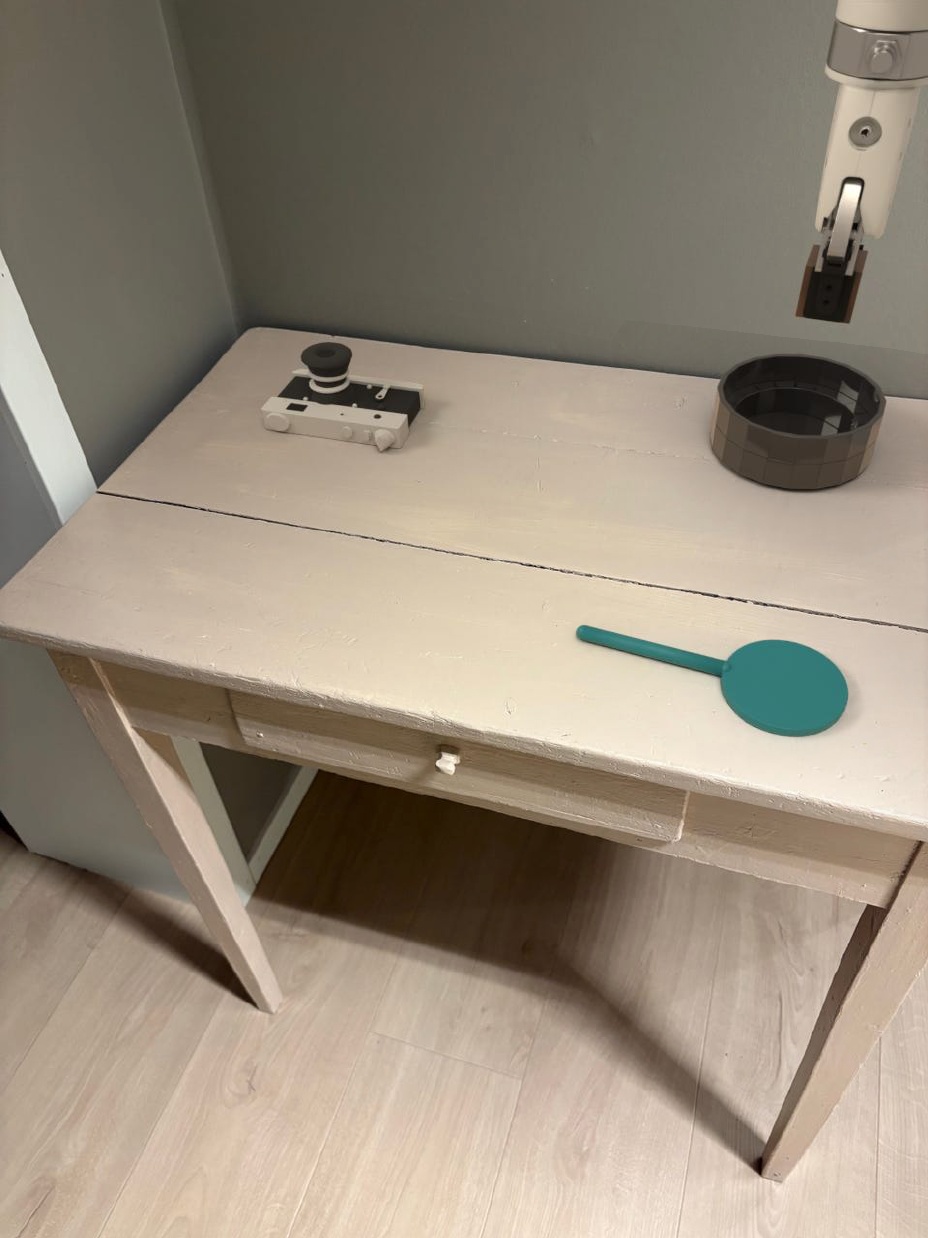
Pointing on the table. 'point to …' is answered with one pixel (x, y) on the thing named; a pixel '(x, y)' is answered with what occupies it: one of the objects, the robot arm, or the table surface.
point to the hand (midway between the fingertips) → (827, 302)
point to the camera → (343, 402)
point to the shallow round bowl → (796, 420)
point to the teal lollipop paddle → (758, 680)
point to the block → (807, 274)
